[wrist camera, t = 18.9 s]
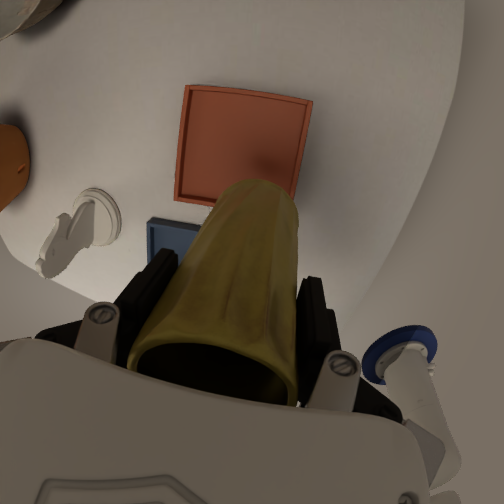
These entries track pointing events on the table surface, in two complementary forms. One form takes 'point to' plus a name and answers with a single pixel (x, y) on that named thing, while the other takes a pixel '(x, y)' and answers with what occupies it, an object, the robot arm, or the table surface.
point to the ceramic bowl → (23, 14)
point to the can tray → (169, 237)
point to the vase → (231, 303)
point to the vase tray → (237, 141)
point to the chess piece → (79, 231)
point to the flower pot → (12, 163)
